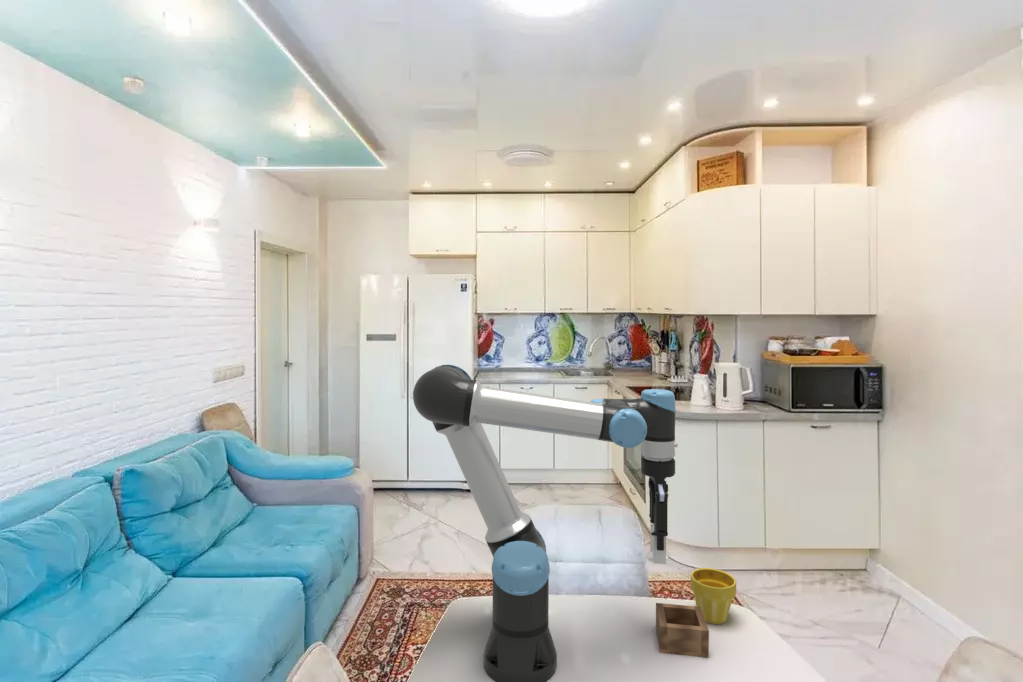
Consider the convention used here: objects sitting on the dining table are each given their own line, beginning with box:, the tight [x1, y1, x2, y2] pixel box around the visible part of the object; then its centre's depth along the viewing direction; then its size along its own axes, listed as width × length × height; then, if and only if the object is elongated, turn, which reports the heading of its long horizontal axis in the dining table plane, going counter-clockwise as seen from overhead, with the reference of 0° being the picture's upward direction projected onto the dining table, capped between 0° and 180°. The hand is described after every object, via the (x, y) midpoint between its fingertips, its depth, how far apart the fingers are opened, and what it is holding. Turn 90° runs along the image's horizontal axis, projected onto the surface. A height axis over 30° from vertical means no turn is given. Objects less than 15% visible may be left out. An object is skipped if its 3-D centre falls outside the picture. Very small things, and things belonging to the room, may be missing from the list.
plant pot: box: [690, 567, 737, 625], centre depth 130 cm, size 10×10×10 cm
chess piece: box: [645, 523, 669, 563], centre depth 124 cm, size 5×5×10 cm
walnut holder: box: [655, 602, 710, 659], centre depth 120 cm, size 10×10×6 cm
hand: (658, 557), depth 124 cm, fingers closed on chess piece, 5 cm apart
